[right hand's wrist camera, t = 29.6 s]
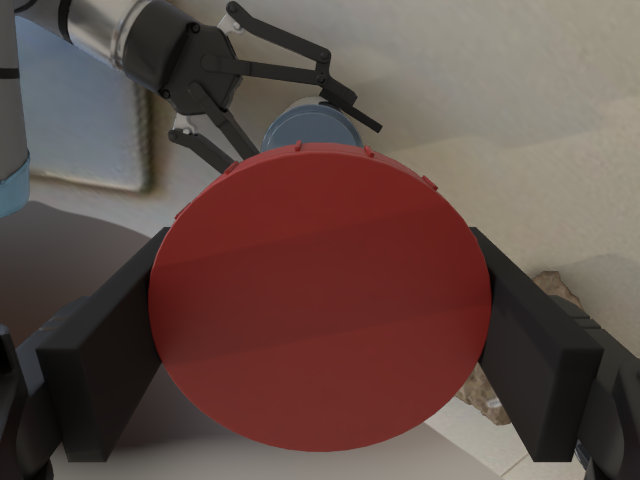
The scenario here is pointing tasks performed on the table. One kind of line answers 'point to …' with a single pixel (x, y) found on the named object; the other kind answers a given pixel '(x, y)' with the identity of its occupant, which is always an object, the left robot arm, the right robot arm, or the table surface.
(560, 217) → the table surface
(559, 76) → the table surface
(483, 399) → the stone
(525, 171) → the table surface
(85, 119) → the table surface
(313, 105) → the jar
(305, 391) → the lid
